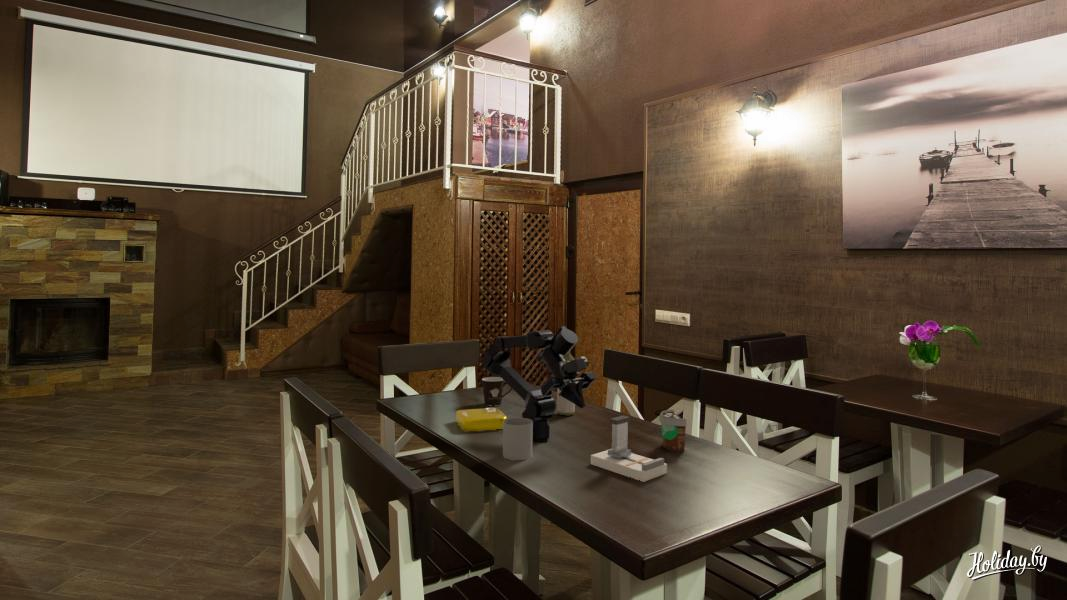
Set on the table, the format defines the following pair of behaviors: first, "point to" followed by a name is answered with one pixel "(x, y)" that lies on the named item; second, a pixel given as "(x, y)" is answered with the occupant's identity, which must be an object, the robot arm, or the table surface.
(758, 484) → the table surface
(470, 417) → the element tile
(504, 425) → the cup
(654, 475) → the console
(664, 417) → the food container
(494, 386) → the coffee mug
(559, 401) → the bottle
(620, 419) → the fader
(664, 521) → the table surface
